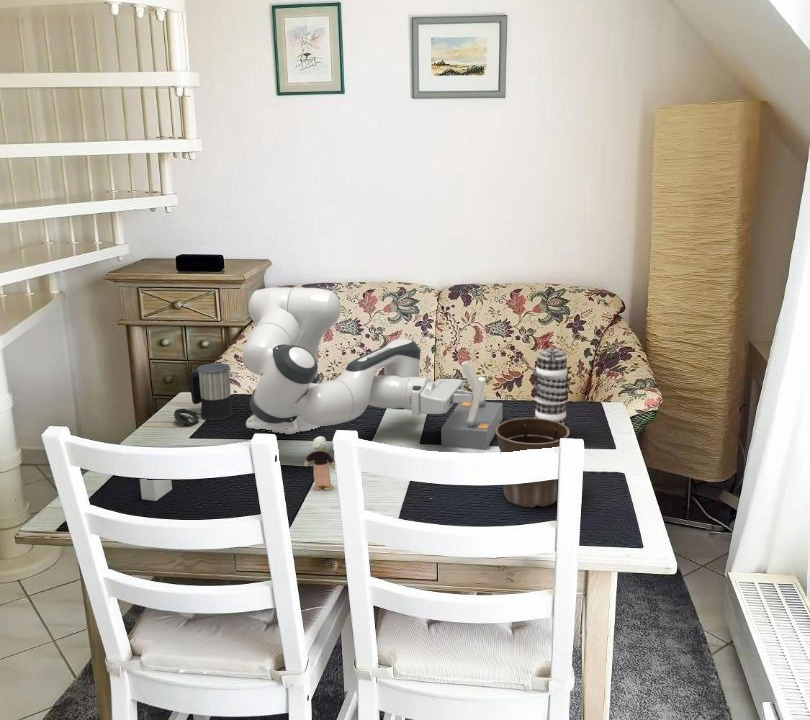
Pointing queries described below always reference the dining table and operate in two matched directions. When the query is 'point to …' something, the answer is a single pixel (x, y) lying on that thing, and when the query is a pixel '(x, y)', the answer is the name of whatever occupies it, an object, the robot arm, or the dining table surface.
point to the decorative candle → (551, 385)
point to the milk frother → (208, 394)
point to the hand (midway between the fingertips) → (473, 397)
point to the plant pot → (526, 437)
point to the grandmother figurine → (321, 464)
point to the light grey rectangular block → (154, 488)
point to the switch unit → (477, 434)
